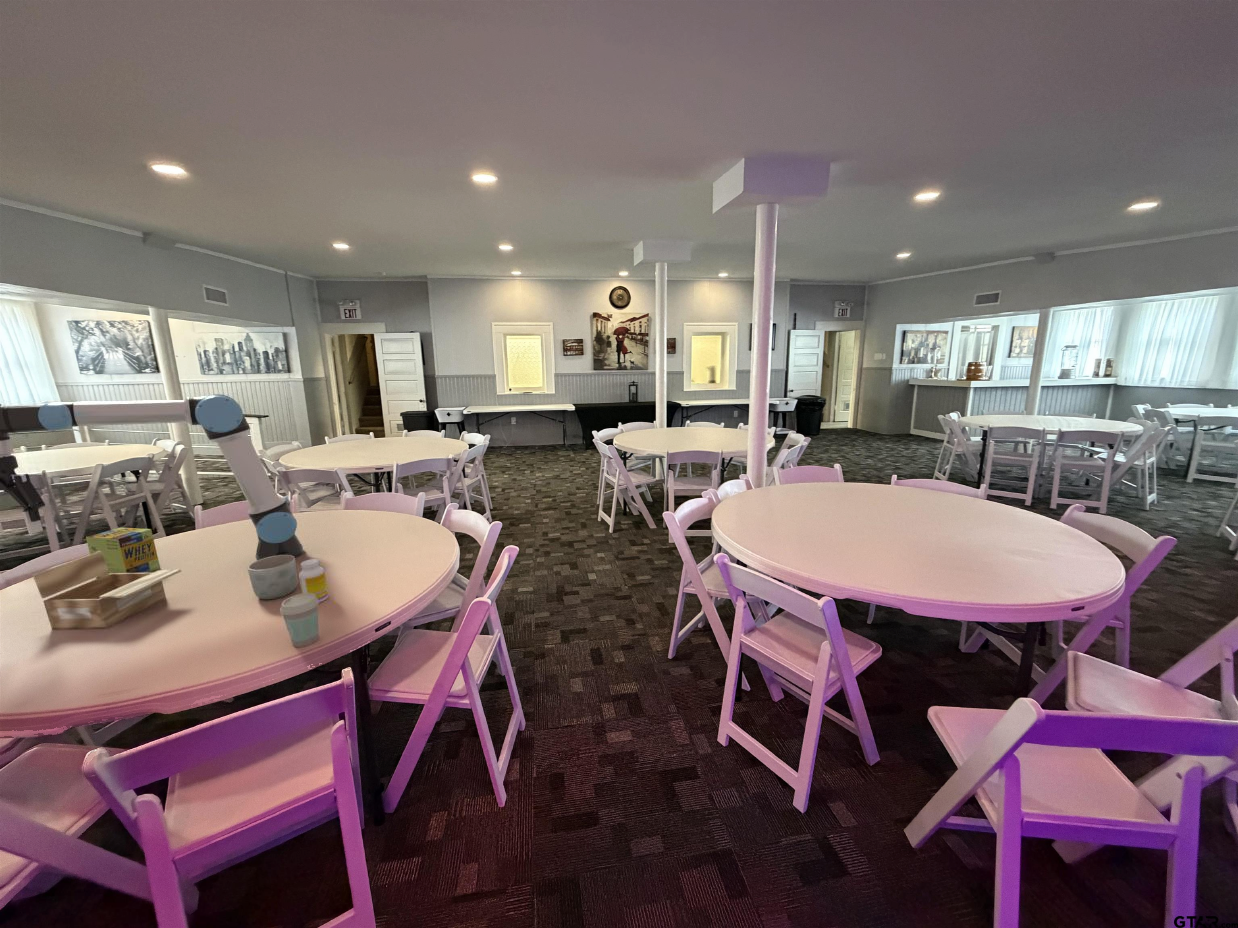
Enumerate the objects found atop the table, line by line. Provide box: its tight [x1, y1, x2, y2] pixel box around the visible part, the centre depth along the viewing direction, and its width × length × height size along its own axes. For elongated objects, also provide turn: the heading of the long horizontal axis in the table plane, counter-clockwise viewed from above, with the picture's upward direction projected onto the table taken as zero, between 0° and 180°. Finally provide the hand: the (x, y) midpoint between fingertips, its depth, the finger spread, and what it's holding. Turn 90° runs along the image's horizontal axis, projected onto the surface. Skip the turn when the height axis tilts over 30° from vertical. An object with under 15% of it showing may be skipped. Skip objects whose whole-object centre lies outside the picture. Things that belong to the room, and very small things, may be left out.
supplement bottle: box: [298, 558, 329, 604], centre depth 148 cm, size 7×7×13 cm
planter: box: [247, 555, 298, 600], centre depth 154 cm, size 12×12×11 cm
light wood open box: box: [43, 569, 182, 631], centre depth 144 cm, size 23×18×10 cm
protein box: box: [85, 527, 161, 578], centre depth 173 cm, size 10×15×16 cm
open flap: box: [32, 551, 109, 599], centre depth 142 cm, size 7×17×7 cm
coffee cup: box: [279, 593, 320, 648], centre depth 126 cm, size 8×8×12 cm
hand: (16, 532), depth 134 cm, fingers open, 11 cm apart
